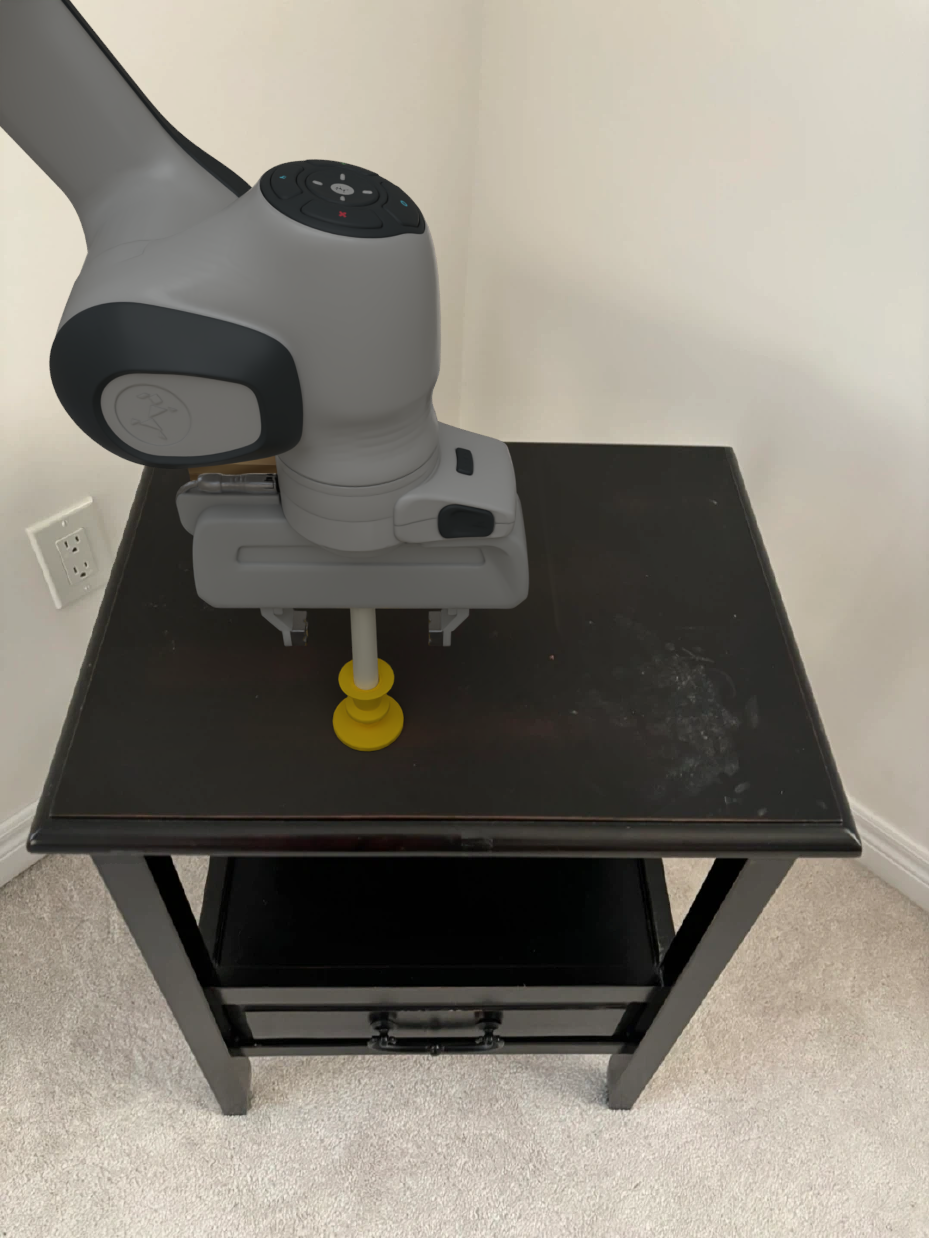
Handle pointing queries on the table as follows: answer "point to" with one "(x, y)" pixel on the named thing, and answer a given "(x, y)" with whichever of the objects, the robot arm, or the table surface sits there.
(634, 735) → the table surface
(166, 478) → the table surface
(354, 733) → the candle
